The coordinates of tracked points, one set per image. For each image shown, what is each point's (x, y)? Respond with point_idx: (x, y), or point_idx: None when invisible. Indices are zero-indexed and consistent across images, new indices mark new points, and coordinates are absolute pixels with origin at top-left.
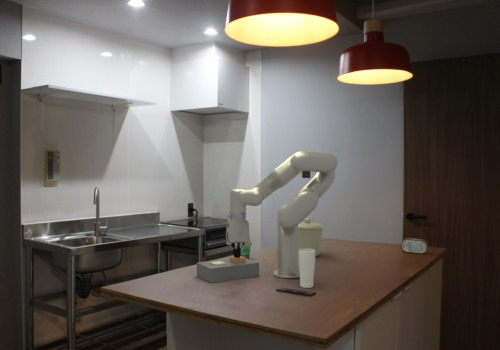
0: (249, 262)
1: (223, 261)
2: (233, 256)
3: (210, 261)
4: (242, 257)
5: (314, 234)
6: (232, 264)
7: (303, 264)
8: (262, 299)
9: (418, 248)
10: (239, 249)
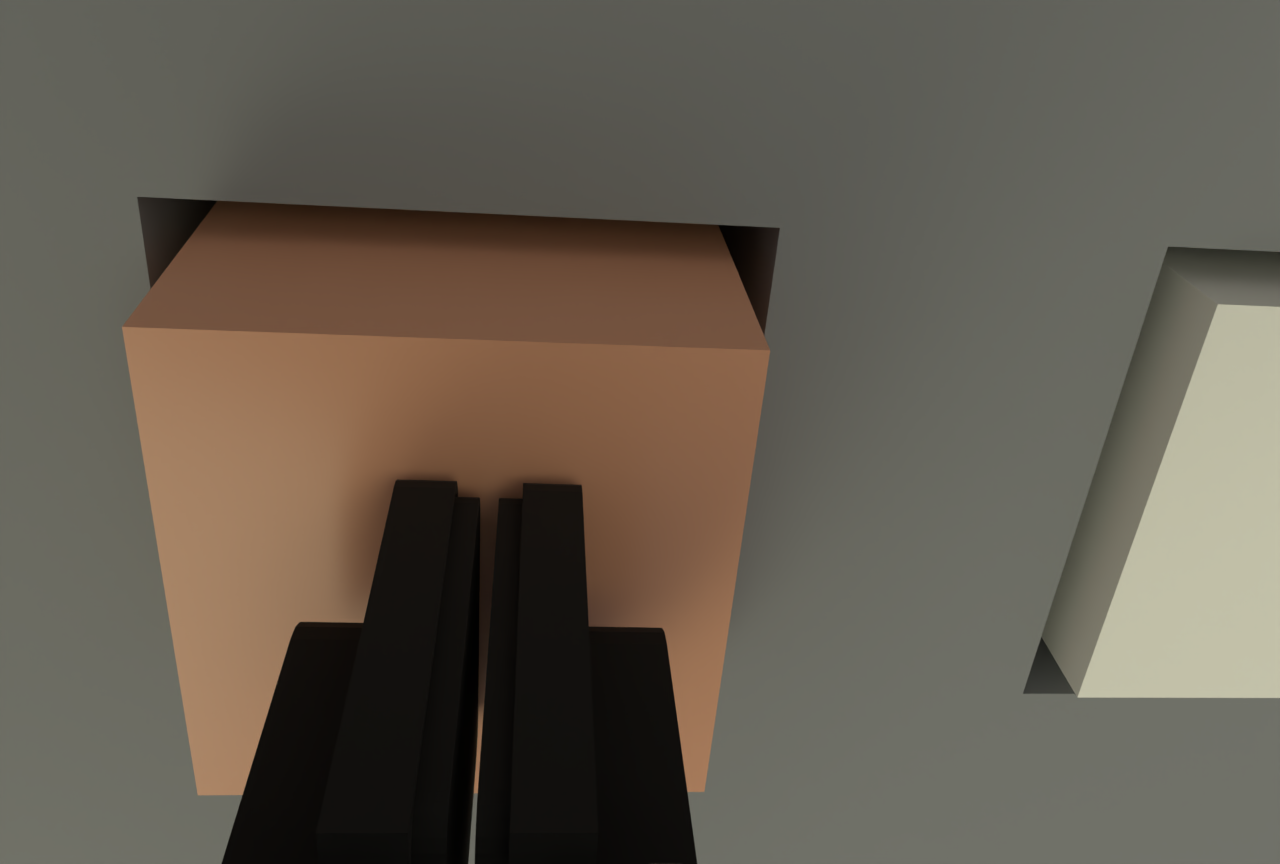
0: (50, 29)
1: (910, 705)
2: None
3: (1213, 855)
4: (275, 434)
5: None
6: (1029, 93)
7: None
8: None
9: None
10: (409, 794)
